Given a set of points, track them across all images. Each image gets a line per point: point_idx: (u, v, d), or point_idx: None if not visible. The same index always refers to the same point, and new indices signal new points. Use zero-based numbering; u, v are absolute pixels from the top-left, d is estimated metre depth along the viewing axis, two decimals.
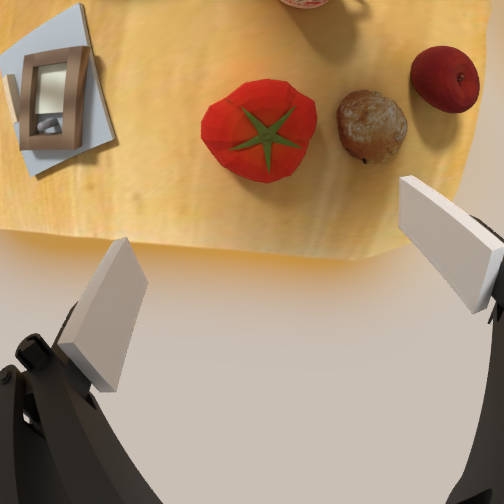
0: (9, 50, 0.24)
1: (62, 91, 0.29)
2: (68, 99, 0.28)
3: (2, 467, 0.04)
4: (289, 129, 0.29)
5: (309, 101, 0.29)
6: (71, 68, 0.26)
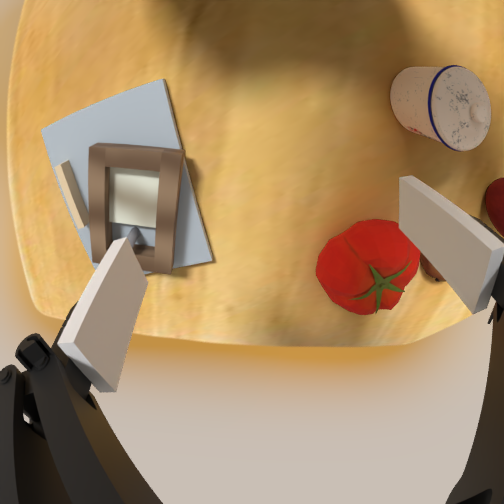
0: (57, 124, 0.26)
1: (149, 202, 0.31)
2: (163, 219, 0.30)
3: (2, 467, 0.04)
4: (401, 280, 0.32)
5: (417, 249, 0.32)
6: (166, 182, 0.28)
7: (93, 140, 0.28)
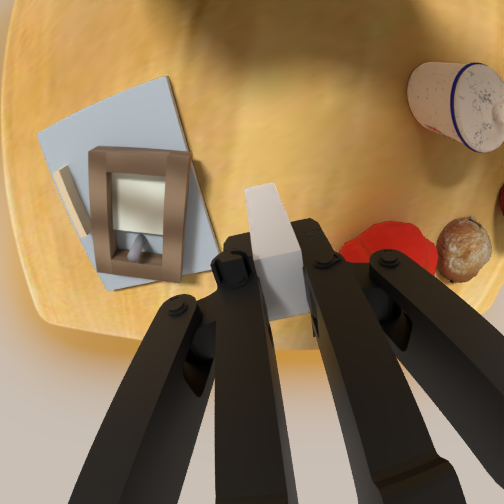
0: (53, 128, 0.24)
1: (155, 209, 0.29)
2: (171, 227, 0.29)
3: (126, 420, 0.05)
4: None
5: (435, 252, 0.30)
6: (173, 187, 0.27)
7: (93, 143, 0.26)
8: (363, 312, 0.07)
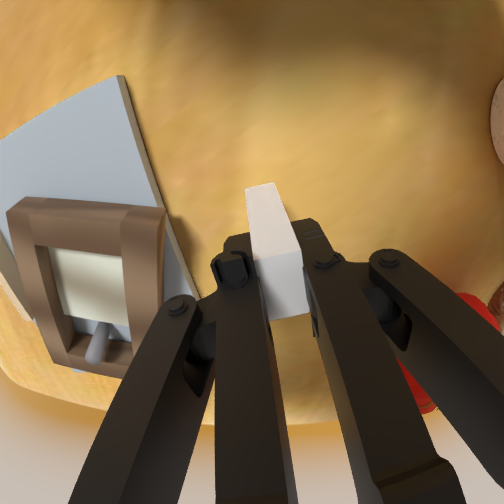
0: None
1: (115, 294, 0.18)
2: (141, 326, 0.18)
3: (126, 420, 0.05)
4: None
5: None
6: (135, 273, 0.16)
7: (20, 192, 0.15)
8: (363, 312, 0.07)
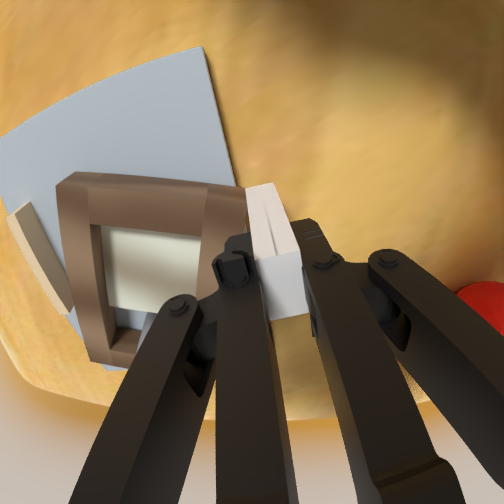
0: (7, 140, 0.13)
1: (177, 281, 0.18)
2: None
3: (127, 420, 0.05)
4: None
5: None
6: (214, 256, 0.15)
7: (67, 167, 0.15)
8: (362, 312, 0.07)
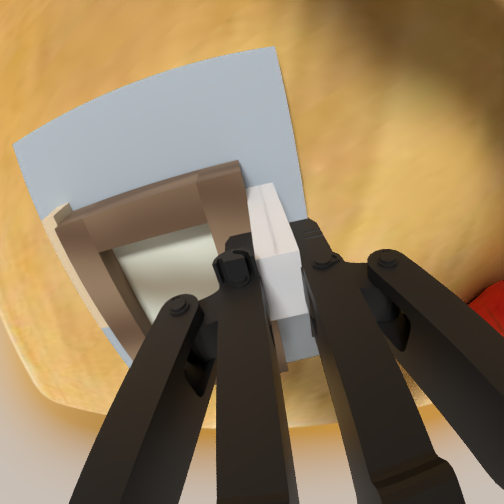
0: (42, 133, 0.13)
1: (209, 280, 0.17)
2: None
3: (128, 419, 0.05)
4: None
5: None
6: None
7: (118, 165, 0.14)
8: (361, 312, 0.07)
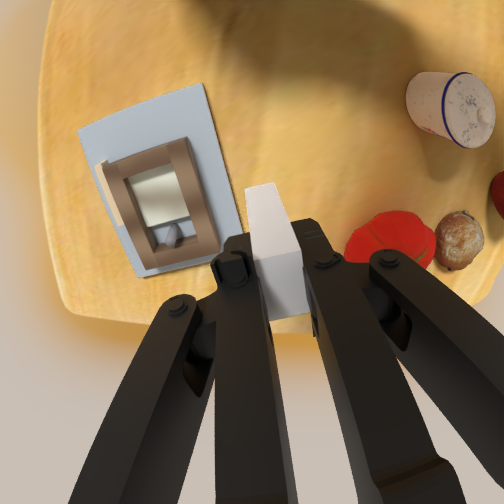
0: (94, 125, 0.29)
1: (175, 195, 0.33)
2: (193, 203, 0.32)
3: (126, 420, 0.05)
4: (420, 265, 0.34)
5: (433, 237, 0.34)
6: (181, 169, 0.30)
7: (133, 140, 0.31)
8: (363, 312, 0.07)
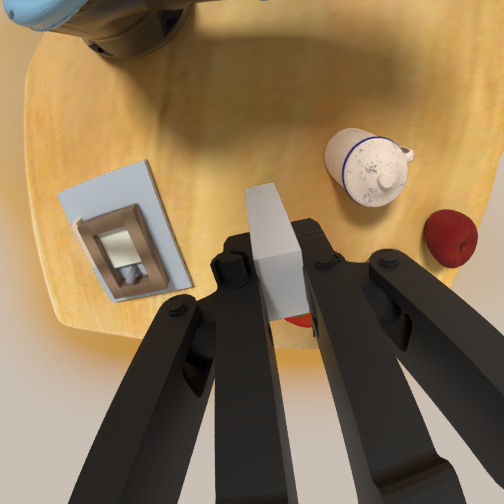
0: (69, 191, 0.39)
1: (131, 246, 0.43)
2: (143, 254, 0.42)
3: (126, 420, 0.05)
4: None
5: None
6: (132, 230, 0.40)
7: (98, 204, 0.40)
8: (363, 312, 0.07)
